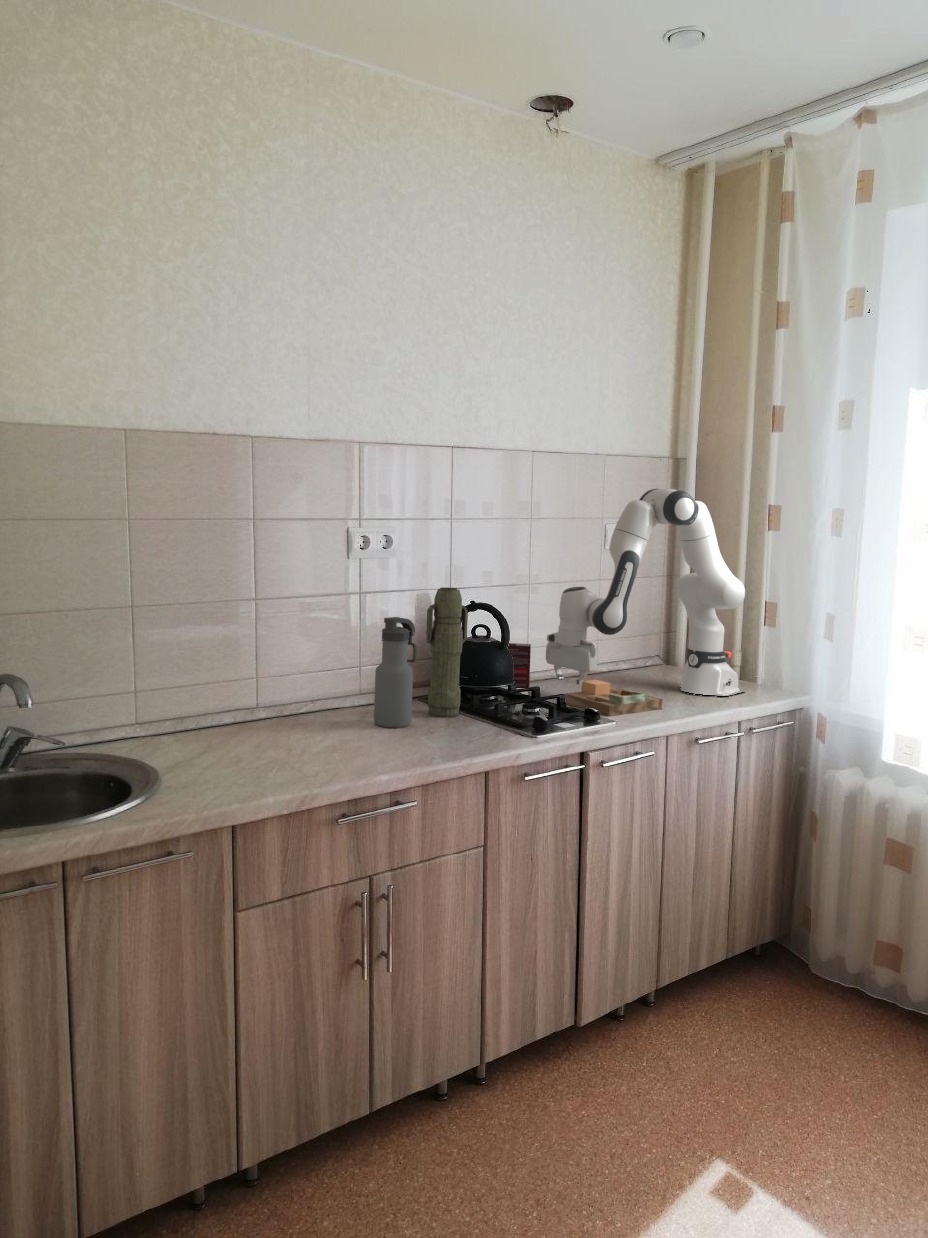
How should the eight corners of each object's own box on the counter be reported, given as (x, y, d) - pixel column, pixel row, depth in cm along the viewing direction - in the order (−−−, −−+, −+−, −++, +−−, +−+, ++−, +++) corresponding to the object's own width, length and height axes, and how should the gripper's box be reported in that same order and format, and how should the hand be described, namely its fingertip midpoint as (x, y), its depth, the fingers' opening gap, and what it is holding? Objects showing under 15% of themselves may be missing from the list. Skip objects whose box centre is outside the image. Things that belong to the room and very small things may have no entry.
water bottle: (395, 718, 249) (399, 614, 246) (420, 725, 242) (423, 618, 239) (366, 723, 242) (369, 616, 239) (390, 730, 235) (393, 621, 232)
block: (595, 690, 285) (596, 679, 284) (609, 693, 280) (610, 683, 279) (581, 691, 281) (581, 681, 281) (595, 695, 276) (595, 684, 276)
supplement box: (529, 693, 290) (531, 643, 288) (528, 696, 285) (531, 645, 283) (501, 692, 291) (503, 642, 289) (500, 695, 286) (502, 644, 284)
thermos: (470, 715, 256) (475, 589, 252) (435, 719, 249) (439, 590, 245) (452, 708, 263) (457, 586, 259) (417, 712, 257) (421, 587, 252)
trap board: (615, 697, 290) (616, 681, 290) (661, 709, 275) (662, 692, 274) (563, 703, 277) (564, 687, 277) (608, 716, 262) (609, 698, 262)
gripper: (603, 642, 282) (600, 687, 283) (558, 634, 298) (556, 676, 300) (587, 644, 278) (585, 689, 279) (543, 635, 294) (541, 677, 296)
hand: (569, 682), depth 290 cm, fingers open, 8 cm apart
